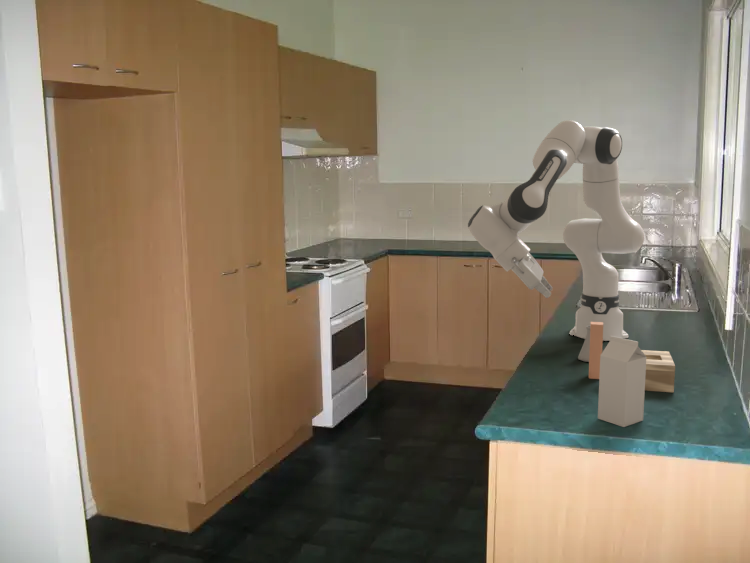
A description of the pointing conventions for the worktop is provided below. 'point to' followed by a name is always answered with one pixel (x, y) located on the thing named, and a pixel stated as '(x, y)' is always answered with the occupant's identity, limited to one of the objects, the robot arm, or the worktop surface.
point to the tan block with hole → (659, 371)
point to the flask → (585, 347)
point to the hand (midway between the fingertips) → (550, 293)
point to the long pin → (595, 349)
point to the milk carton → (622, 382)
